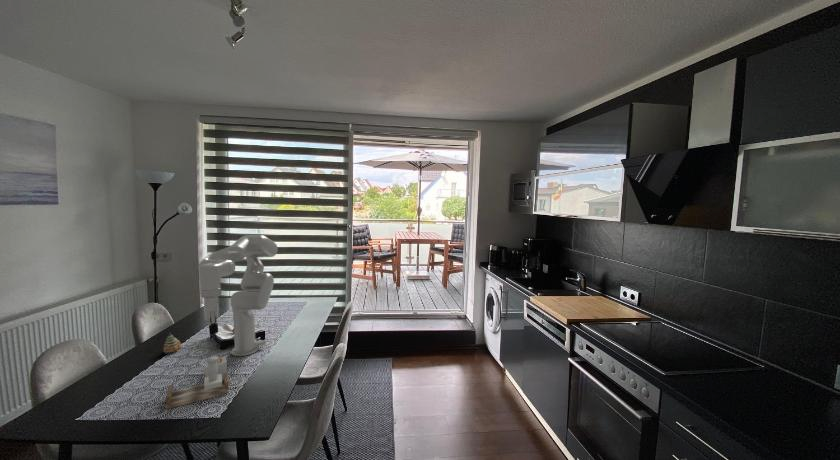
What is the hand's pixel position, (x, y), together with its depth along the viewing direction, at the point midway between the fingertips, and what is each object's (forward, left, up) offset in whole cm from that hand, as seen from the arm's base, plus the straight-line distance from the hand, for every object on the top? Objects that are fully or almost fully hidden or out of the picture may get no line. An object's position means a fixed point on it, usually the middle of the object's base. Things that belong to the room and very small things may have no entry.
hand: (213, 332), depth 143 cm
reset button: (0, +2, -15) cm, 15 cm away
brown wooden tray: (+6, +12, -20) cm, 24 cm away
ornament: (+19, -42, -20) cm, 50 cm away
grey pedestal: (+1, +12, -17) cm, 21 cm away
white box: (0, +2, -20) cm, 20 cm away
